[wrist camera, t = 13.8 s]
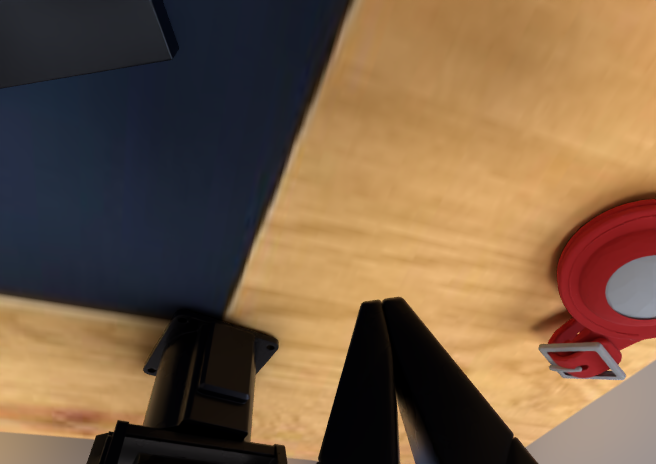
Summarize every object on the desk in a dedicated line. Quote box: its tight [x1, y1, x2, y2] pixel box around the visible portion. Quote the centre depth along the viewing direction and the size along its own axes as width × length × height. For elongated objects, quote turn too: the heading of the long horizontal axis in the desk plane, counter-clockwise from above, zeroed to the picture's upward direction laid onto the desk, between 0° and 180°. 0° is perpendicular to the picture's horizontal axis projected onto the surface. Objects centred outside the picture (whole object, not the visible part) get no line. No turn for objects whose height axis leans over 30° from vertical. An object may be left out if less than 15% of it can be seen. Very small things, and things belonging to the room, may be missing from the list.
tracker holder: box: [539, 199, 656, 380], centre depth 24 cm, size 12×4×10 cm
